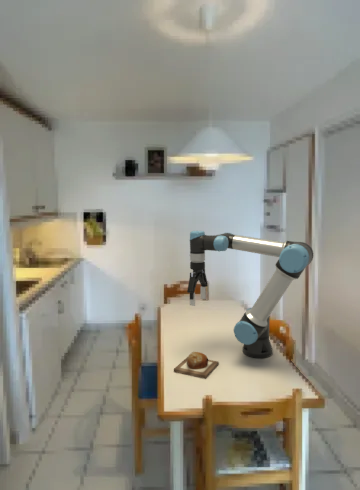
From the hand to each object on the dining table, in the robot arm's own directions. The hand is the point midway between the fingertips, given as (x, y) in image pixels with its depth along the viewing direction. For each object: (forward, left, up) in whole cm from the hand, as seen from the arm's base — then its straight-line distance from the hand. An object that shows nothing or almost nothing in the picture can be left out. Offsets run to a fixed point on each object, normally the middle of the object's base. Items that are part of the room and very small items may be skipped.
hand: (198, 302), depth 193 cm
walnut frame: (-7, +18, -27) cm, 33 cm away
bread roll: (-7, +18, -25) cm, 32 cm away
